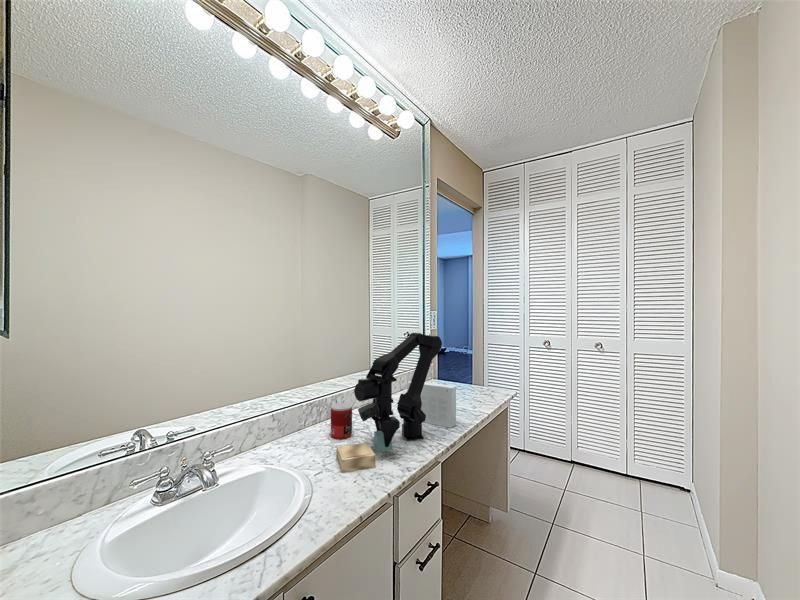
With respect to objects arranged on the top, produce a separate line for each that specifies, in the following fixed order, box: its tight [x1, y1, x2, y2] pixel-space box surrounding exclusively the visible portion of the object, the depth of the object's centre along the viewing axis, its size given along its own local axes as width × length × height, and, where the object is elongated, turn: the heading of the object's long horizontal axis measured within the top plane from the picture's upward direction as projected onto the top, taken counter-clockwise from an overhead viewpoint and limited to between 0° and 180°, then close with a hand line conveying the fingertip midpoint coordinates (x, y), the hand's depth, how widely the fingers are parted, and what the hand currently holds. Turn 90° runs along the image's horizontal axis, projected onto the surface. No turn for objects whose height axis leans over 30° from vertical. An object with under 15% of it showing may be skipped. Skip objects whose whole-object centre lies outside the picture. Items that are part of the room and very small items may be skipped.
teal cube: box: [373, 430, 393, 452], centre depth 114 cm, size 5×5×5 cm
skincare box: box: [406, 380, 457, 429], centre depth 141 cm, size 21×5×16 cm, turn 58°
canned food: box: [330, 402, 353, 440], centre depth 125 cm, size 8×8×11 cm
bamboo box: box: [335, 441, 376, 474], centre depth 103 cm, size 10×10×4 cm
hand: (383, 441), depth 114 cm, fingers open, 9 cm apart
